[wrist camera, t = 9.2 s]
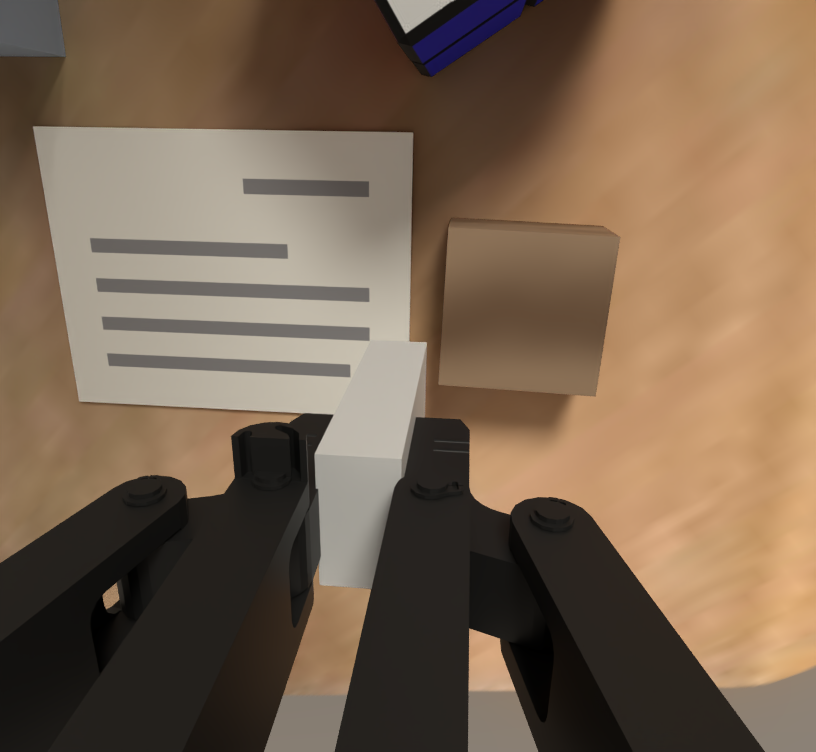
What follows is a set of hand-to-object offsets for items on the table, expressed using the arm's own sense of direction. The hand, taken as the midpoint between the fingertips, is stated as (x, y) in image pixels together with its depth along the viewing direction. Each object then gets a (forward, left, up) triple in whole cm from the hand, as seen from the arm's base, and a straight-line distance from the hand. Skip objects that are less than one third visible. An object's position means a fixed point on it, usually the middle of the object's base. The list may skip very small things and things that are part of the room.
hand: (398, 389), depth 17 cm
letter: (0, -10, -15) cm, 18 cm away
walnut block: (+1, +4, -15) cm, 16 cm away
